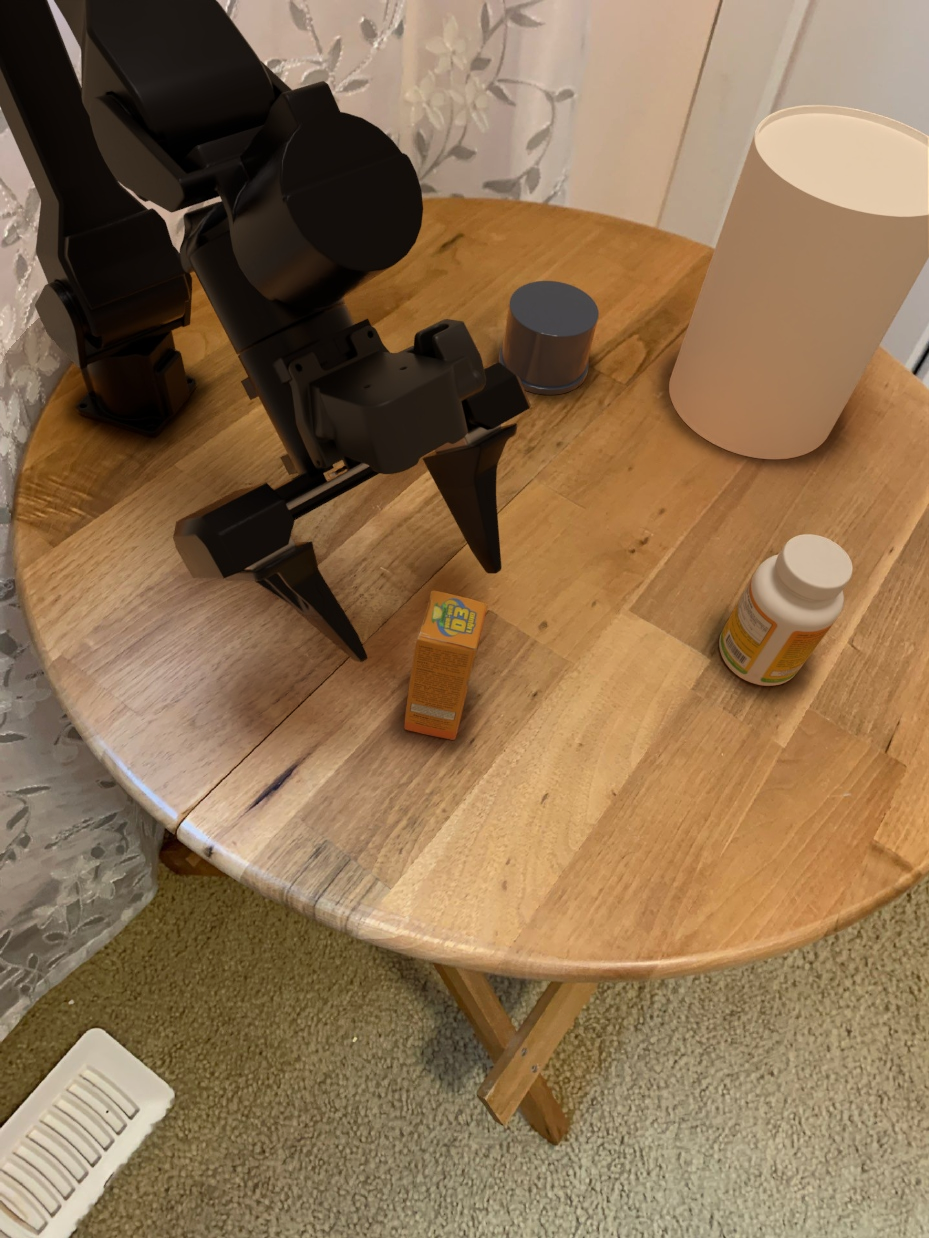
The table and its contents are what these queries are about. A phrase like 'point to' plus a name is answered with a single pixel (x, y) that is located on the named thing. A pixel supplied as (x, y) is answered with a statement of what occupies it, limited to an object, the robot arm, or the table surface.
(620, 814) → the table surface
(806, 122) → the canister
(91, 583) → the table surface
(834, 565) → the supplement bottle
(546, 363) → the cup
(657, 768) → the table surface
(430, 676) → the supplement box
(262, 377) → the robot arm
